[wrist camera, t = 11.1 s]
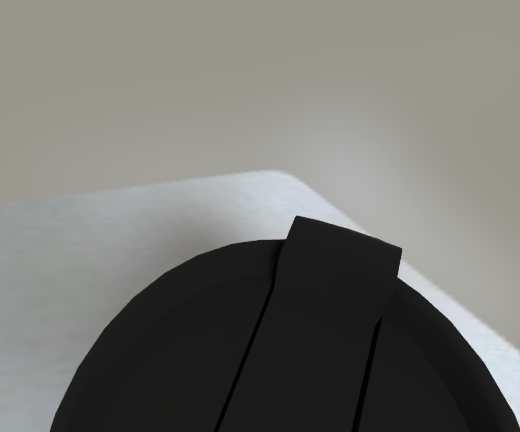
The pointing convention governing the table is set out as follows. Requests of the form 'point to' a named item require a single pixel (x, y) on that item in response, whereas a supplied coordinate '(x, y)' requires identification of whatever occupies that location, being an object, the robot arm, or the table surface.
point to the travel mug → (284, 348)
